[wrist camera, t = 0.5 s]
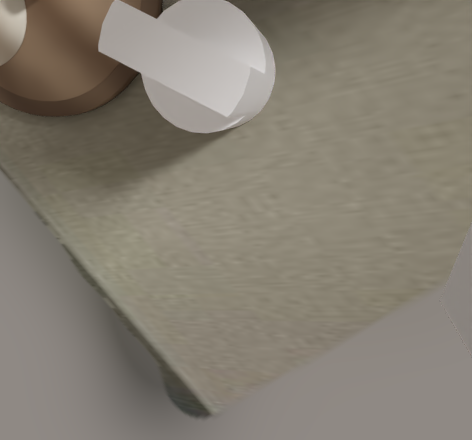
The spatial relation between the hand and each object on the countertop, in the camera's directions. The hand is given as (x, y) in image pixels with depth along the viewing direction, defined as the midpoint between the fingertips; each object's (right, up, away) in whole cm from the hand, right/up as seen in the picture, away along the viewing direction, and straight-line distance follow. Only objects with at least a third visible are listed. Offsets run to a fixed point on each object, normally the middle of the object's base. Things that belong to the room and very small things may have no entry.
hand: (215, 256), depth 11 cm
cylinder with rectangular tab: (-1, +13, +24) cm, 27 cm away
